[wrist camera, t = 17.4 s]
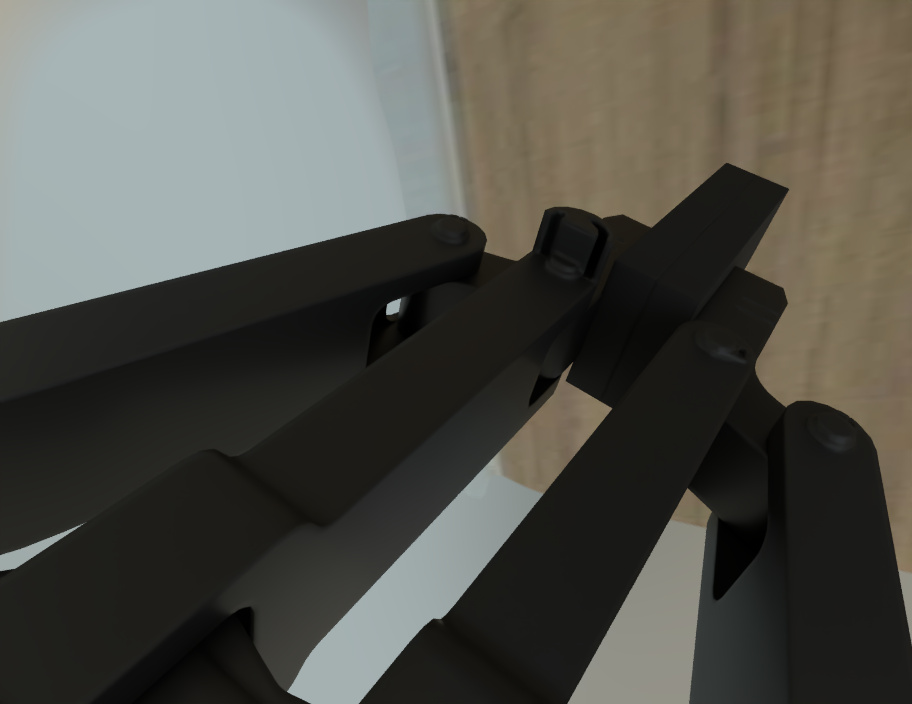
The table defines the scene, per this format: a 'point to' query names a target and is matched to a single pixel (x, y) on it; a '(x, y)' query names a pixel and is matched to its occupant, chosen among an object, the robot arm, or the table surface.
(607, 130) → the table surface
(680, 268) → the robot arm
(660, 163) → the table surface
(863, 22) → the table surface
